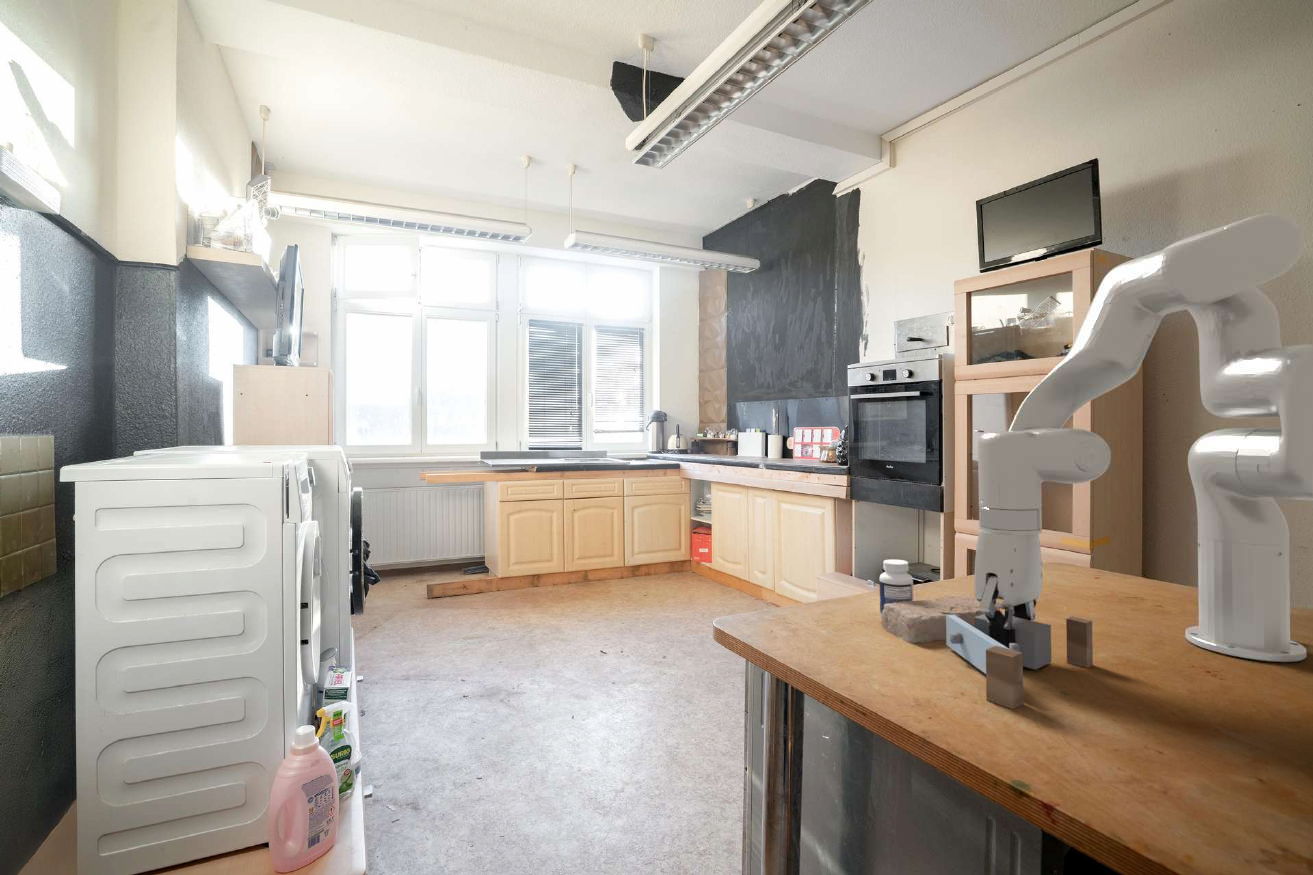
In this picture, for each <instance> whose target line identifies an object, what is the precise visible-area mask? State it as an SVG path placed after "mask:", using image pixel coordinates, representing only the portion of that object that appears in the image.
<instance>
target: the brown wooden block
mask: <svg viewBox="0 0 1313 875" xmlns="http://www.w3.org/2000/svg"><path fill="white" fill-rule="evenodd" d="M1023 667H1024V666H1023V654H1022V652H1018V651H1015V650H1011V649H1007V648H1003V647H1000V646H994V647H991V648H989V649H986V674H985V678H986V679H985V680H986V681H985V683H986V684H985V686H986V687H985V690H986V695H985V696H986V701H989V702H991V703H994V704H996V705H1000V706H1002V707H1005V708H1008V709H1011V710H1015V709H1016V708H1018V707H1020V706H1022V705H1023V704H1024V675H1023V674H1024V673H1023V671H1024V668H1023Z"/></svg>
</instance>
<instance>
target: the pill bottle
mask: <svg viewBox="0 0 1313 875" xmlns="http://www.w3.org/2000/svg"><path fill="white" fill-rule="evenodd" d="M882 566H883V570H884V572H882V573H881V574H880V575H879V615H880V618H882V611H883V609H884V605H885V604H888V603H890V604H891V603H895V602H897V603H899V602H902V601H914V579H913V577H912V575H911V574H910V573H908V572H909V569H910V568H909V561H907V560H904V559H885V560H883V565H882Z"/></svg>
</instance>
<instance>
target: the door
mask: <svg viewBox="0 0 1313 875" xmlns="http://www.w3.org/2000/svg"><path fill="white" fill-rule="evenodd" d="M945 641H946V646H947V647H949V648H951V650H953V651H954V652H955V653H956V654H958V655H959V656H961V657H963V659H965V660H966V661H968V662H969V663H970V664H971V665H972V666H974V667H975V668H977V669H978V670H980V671H981V672H983V673H984V674H985V675H986V649H989V648H991V647H994V646H1000V647H1003V648H1007V647H1005V646H1004V645H1002V644H1000V643H999V642H997V641H996V640H994V639H992V638H991V637H989V636H988V635H986V634H984V633H983V632H981V631H980V630H978V629H976V628H975V627H973V626H971V625H970V624H968V623H967V622H965V621H963V620H962V619H960V618H959V617H957V616H955V615H946V639H945ZM1007 649H1011V650H1015V651H1018V652H1019V644H1016V643H1010V644H1009V648H1007Z"/></svg>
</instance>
